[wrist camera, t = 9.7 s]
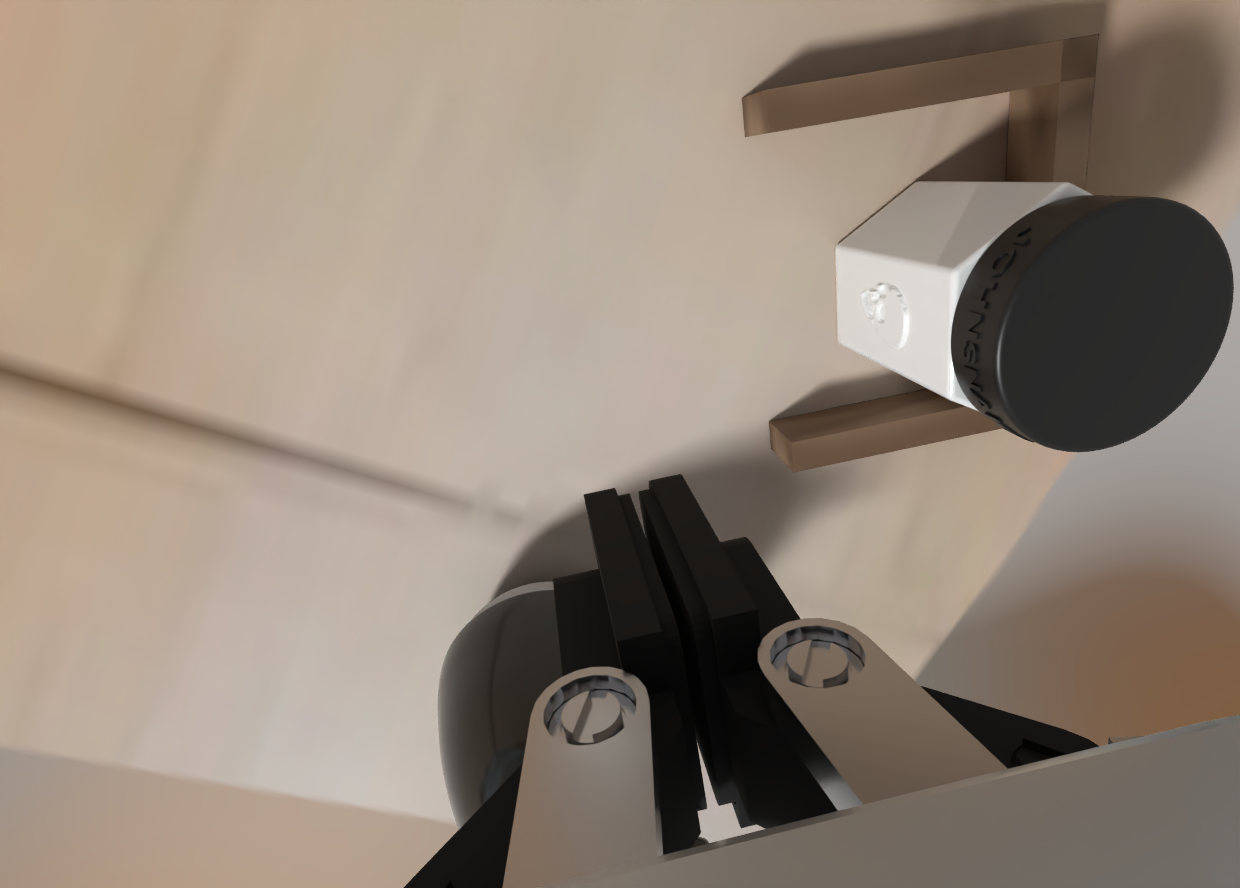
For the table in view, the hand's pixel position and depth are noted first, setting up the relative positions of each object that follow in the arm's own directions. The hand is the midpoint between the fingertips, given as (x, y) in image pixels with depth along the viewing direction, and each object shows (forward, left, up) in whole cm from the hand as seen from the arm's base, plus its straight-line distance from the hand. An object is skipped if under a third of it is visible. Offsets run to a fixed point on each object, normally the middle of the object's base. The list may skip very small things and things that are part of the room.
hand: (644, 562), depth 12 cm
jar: (+1, +17, -21) cm, 27 cm away
